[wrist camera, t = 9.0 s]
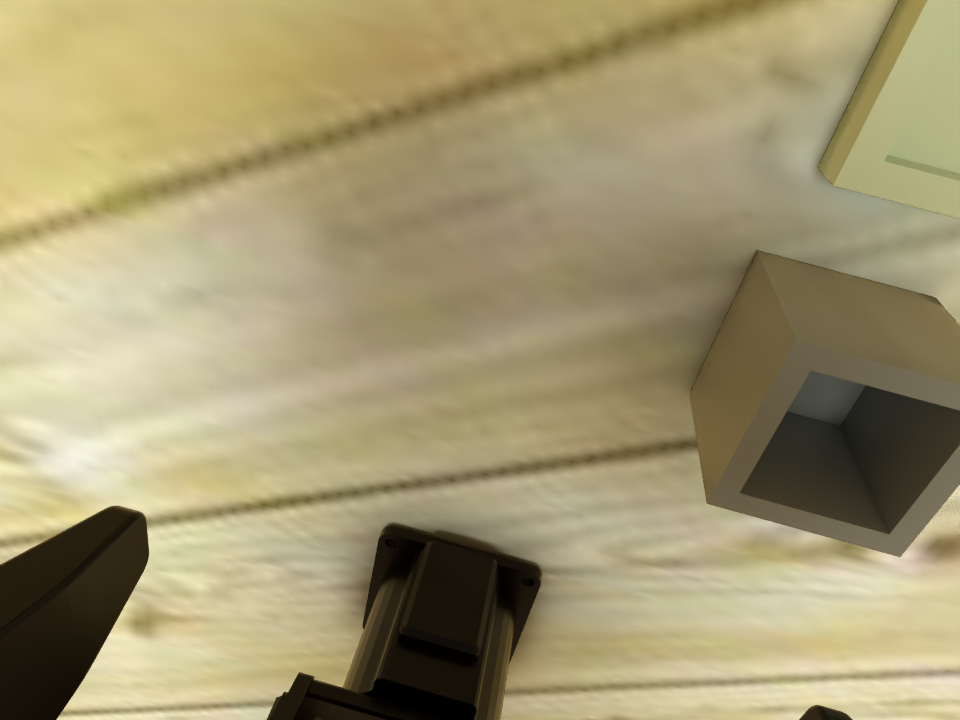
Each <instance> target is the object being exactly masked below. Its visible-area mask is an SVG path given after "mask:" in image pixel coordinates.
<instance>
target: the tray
mask: <svg viewBox="0 0 960 720" xmlns="http://www.w3.org/2000/svg"><path fill="white" fill-rule="evenodd" d="M818 168H819V169H820V171H821V172H822V173H823V174H824V175H825V177H826V178H827V179H828V180H829V181H830V182H831V184H832V185H833V186H837V187H841V188H845V189H849V190H852V191H856V192H860V193H864V194H868V195H872V196H875V197H879V198H883V199H887V200H891V201H895V202H898V203H902V204H906V205H910V206H914V207H917V208H921V209H925V210H929V211H933V212H937V213H940V214H944V215H948V216H952V217H956V218H960V0H899V2H898V4H897V6H896V8H895V11H894V13H893V15H892V17H891V19H890V21H889V23H888V25H887V27H886V29H885V31H884V33H883V35H882V37H881V39H880V41H879V43H878V45H877V47H876V49H875V51H874V53H873V55H872V58H871V60H870V62H869V64H868V66H867V68H866V70H865V72H864V74H863V76H862V78H861V80H860V82H859V84H858V86H857V88H856V90H855V92H854V94H853V96H852V98H851V100H850V103H849V105H848V107H847V109H846V111H845V113H844V115H843V117H842V119H841V121H840V123H839V125H838V127H837V129H836V131H835V133H834V135H833V137H832V139H831V141H830V143H829V145H828V147H827V150H826V152H825V154H824V156H823V158H822V160H821V162H820V164H819V166H818Z"/></svg>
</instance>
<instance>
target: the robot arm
mask: <svg viewBox="0 0 960 720" xmlns="http://www.w3.org/2000/svg"><path fill="white" fill-rule="evenodd" d="M392 539H394V540H392ZM148 557H149V546H148V534H147V523H146V517H145V516H144V514H143V513H141V512H139V511H136V510H132V509H129V508H125V507H122V506H111V507H108V508H106V509H104V510H102V511H100V512H98V513H96V514H95V515H93V516H91V517H89V518H87V519H85V520H83V521H81V522H80V523H78V524H76V525H74V526H72V527H70V528H68V529H66V530H65V531H63V532H61V533H59V534H57V535H55V536H53V537H51V538H50V539H48V540H46V541H44V542H42V543H40V544H38V545H36V546H35V547H33V548H31V549H29V550H27V551H25V552H23V553H21V554H20V555H18V556H16V557H14V558H12V559H10V560H8V561H6V562H5V563H3V564H1V565H0V720H56V719H57V718H58V716H59V715H60V713H61V712H62V711H63V709H64V708H65V706H66V705H67V703H68V702H69V700H70V699H71V697H72V696H73V695H74V693H75V691H76V690H77V688H78V687H79V685H80V684H81V682H82V681H83V679H84V678H85V676H86V674H87V673H88V671H89V669H90V667H91V666H92V664H93V662H94V661H95V659H96V657H97V655H98V653H99V652H100V650H101V648H102V646H103V644H104V642H105V641H106V639H107V637H108V635H109V633H110V632H111V630H112V628H113V626H114V624H115V622H116V621H117V619H118V617H119V615H120V613H121V612H122V610H123V608H124V606H125V604H126V602H127V601H128V599H129V597H130V595H131V593H132V592H133V590H134V588H135V586H136V584H137V583H138V581H139V579H140V577H141V575H142V573H143V572H144V570H145V567H146V565H147V561H148ZM541 576H542V574H541V571H540V570H539V569H538V568H537V567H534V566H532V565H528V564H525V563H521V562H518V561H514V560H511V559H507V558H504V557H500V556H497V555H493V554H489V553H486V552H482V551H479V550H475V549H472V548H468V547H465V546H461V545H458V544H454V543H451V542H447V541H443V540H440V539H436V538H433V537H429V536H426V535H422V534H419V533H415V532H412V531H408V530H404V529H401V528H397V527H392V526H390V527H386V528H384V529H383V531H382V533H381V535H380V538H379V541H378V546H377V551H376V557H375V562H374V567H373V573H372V578H371V584H370V589H369V594H368V600H367V605H366V610H365V616H364V621H363V629H364V631H363V634H362V637H361V639H360V642H359V645H358V648H357V650H356V653H355V656H354V658H353V661H352V664H351V667H350V669H349V672H348V675H347V678H346V680H345V683H344V686H343V688H342V687H338V686H335V685H331V684H328V683H325V682H321V681H318V680H314V676H311V675H307V674H304V673H301V672H299V673H298V675H297V677H296V679H295V681H294V683H293V685H292V686H291V688H290V690H289V692H288V693H287V692H284V693H283V695H282V696H280V697H277V698H276V700H275V702H274V705H273V707H272V709H271V711H270V714H269V716H268V718H267V720H500V719H501V712H502V706H503V699H504V692H505V686H506V679H507V672H508V666H509V663H510V661H511V658H512V656H513V653H514V651H515V648H516V646H517V643H518V641H519V638H520V636H521V633H522V631H523V628H524V626H525V623H526V620H527V618H528V615H529V613H530V610H531V608H532V605H533V603H534V600H535V598H536V595H537V593H538V590H539V588H540V585H541ZM526 577H528V578H526ZM799 720H852V719H851V718H850V717H849V716H848V715H847V714H845V713H843V712H841V711H838V710H834V709H831V708H827V707H824V706H820V705H815V706H812V707H810V708H809V709H808V710H807V711H806V712H805V714H804V715H803V716H802V717H801V718H800V719H799Z"/></svg>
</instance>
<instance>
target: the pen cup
mask: <svg viewBox="0 0 960 720" xmlns="http://www.w3.org/2000/svg"><path fill="white" fill-rule="evenodd" d="M690 399H691V405H692V412H693V418H694V425H695V431H696V437H697V444H698V450H699V457H700V463H701V470H702V476H703V483H704V489H705V496H706V502H707V504H710V505H714V506H718V507H721V508H725V509H728V510H732V511H736V512H739V513H743V514H746V515H750V516H754V517H757V518H761V519H764V520H768V521H772V522H775V523H779V524H782V525H786V526H790V527H793V528H797V529H800V530H804V531H808V532H811V533H815V534H818V535H822V536H826V537H829V538H833V539H837V540H840V541H844V542H847V543H851V544H855V545H858V546H862V547H865V548H869V549H873V550H876V551H880V552H883V553H887V554H891V555H894V556H898V557H901V556H902V554H903V553H904V552H905V551H906V549H907V548H908V547H909V546H910V545H911V543H912V542H913V541H914V540H915V538H916V537H917V536H918V535H919V534H920V532H921V531H922V530H923V529H924V527H925V526H926V525H927V524H928V523H929V521H930V520H931V519H932V518H933V516H934V515H935V514H936V513H937V512H938V510H939V509H940V508H941V507H942V505H943V504H944V503H945V502H946V501H947V499H948V498H949V497H950V496H951V494H952V493H953V492H954V491H955V489H956V488H957V487H958V486H959V485H960V325H959V324H958V323H957V322H956V320H955V319H954V318H953V317H952V316H951V315H950V314H949V312H948V311H947V310H946V309H945V308H944V307H943V306H942V304H941V303H940V302H939V301H938V300H937V299H936V298H934V297H931V296H927V295H923V294H919V293H916V292H912V291H908V290H904V289H900V288H897V287H893V286H889V285H885V284H882V283H878V282H874V281H870V280H867V279H863V278H859V277H855V276H851V275H848V274H844V273H840V272H836V271H833V270H829V269H825V268H821V267H818V266H814V265H810V264H806V263H802V262H799V261H795V260H791V259H787V258H784V257H780V256H776V255H772V254H769V253H765V252H761V251H757V252H756V254H755V256H754V258H753V260H752V262H751V264H750V267H749V269H748V271H747V273H746V275H745V277H744V279H743V281H742V283H741V286H740V288H739V290H738V292H737V294H736V296H735V298H734V300H733V303H732V305H731V307H730V309H729V311H728V313H727V315H726V317H725V320H724V322H723V324H722V326H721V328H720V330H719V332H718V334H717V337H716V339H715V341H714V343H713V345H712V347H711V349H710V351H709V353H708V356H707V358H706V360H705V362H704V364H703V366H702V368H701V370H700V373H699V375H698V377H697V379H696V381H695V383H694V385H693V387H692V390H691V392H690Z"/></svg>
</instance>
